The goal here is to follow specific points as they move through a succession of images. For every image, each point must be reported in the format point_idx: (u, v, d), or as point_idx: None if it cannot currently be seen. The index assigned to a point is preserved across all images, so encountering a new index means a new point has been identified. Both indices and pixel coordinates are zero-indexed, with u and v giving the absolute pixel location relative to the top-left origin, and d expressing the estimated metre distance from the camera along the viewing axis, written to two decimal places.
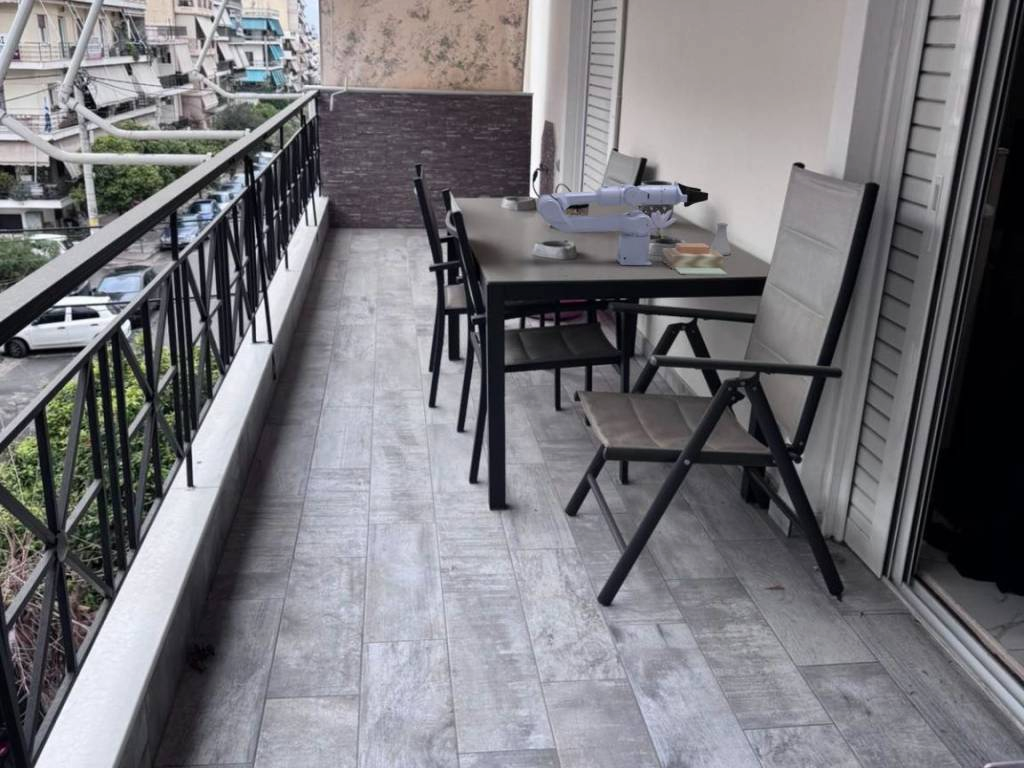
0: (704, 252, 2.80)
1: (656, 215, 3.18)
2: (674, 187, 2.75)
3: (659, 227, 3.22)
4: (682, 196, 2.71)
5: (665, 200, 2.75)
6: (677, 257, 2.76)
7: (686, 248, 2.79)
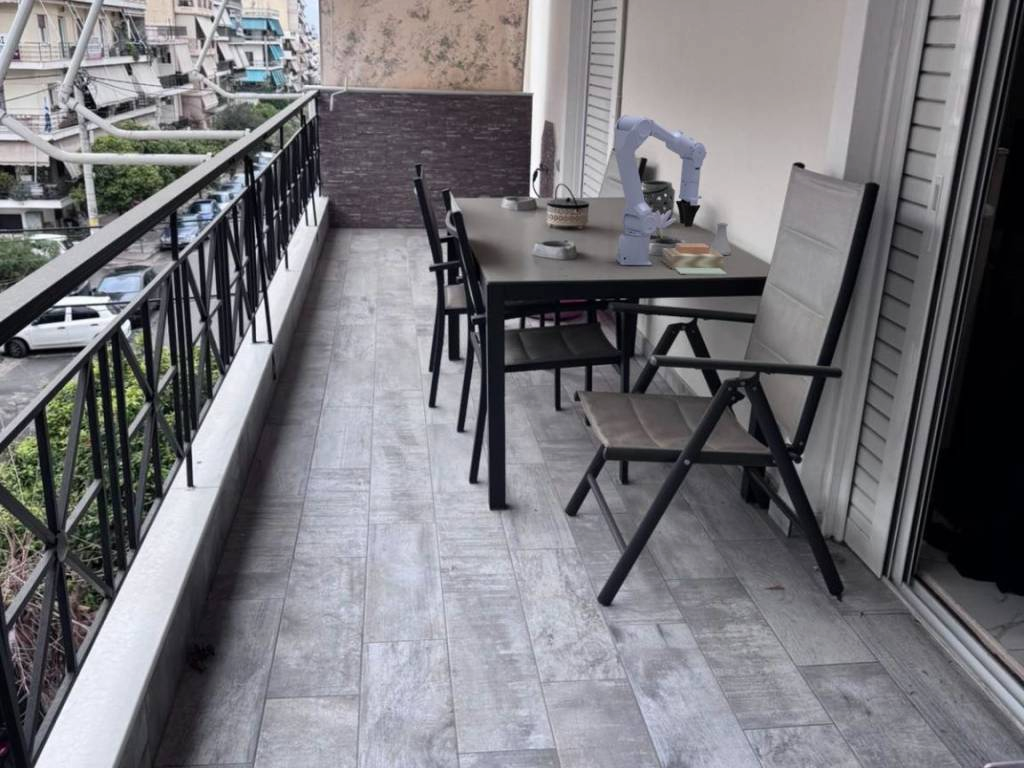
0: (704, 252, 2.80)
1: (656, 215, 3.18)
2: (697, 194, 2.85)
3: (659, 227, 3.22)
4: (696, 200, 2.80)
5: (687, 186, 2.83)
6: (677, 257, 2.76)
7: (686, 248, 2.79)
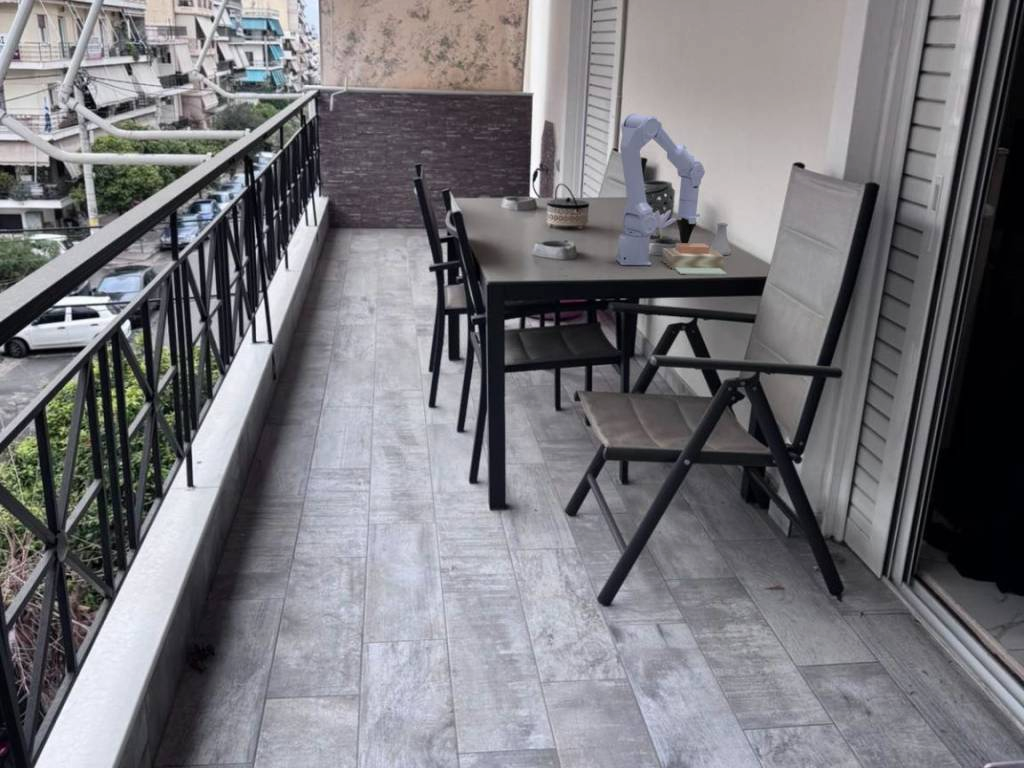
0: (704, 252, 2.80)
1: (655, 215, 3.18)
2: None
3: (658, 227, 3.22)
4: (695, 219, 2.82)
5: (686, 204, 2.85)
6: (677, 257, 2.76)
7: (686, 248, 2.79)
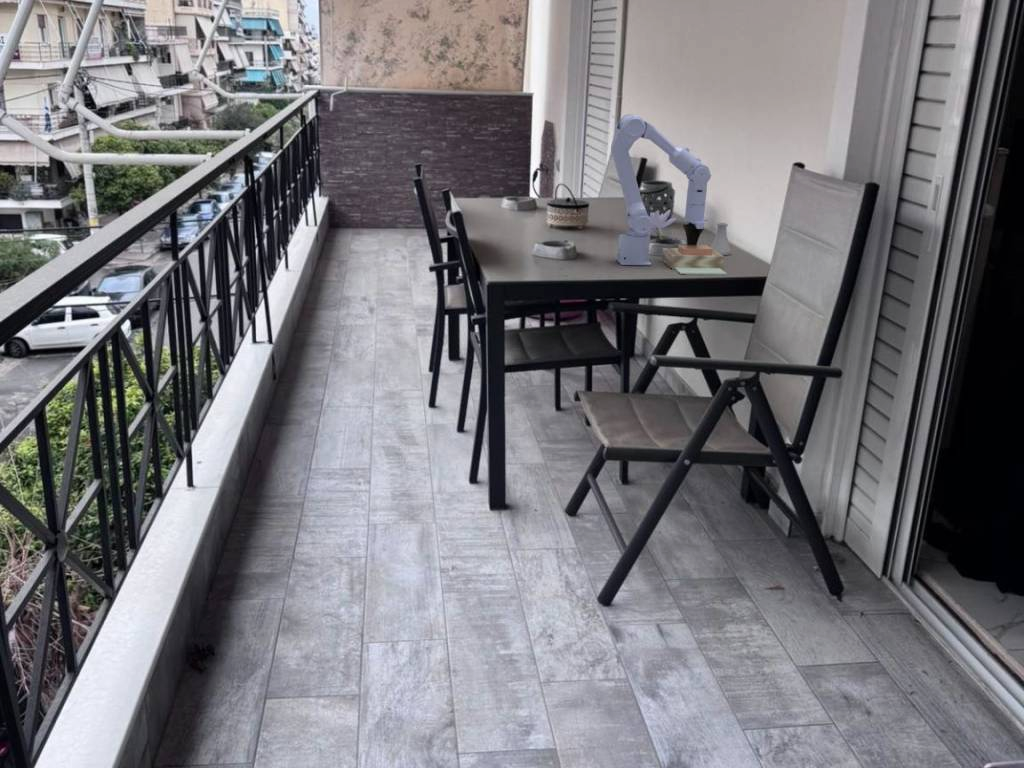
0: (707, 254, 2.77)
1: (655, 215, 3.18)
2: (703, 217, 2.79)
3: (658, 227, 3.22)
4: (702, 224, 2.74)
5: (693, 208, 2.77)
6: (677, 257, 2.76)
7: (689, 250, 2.77)
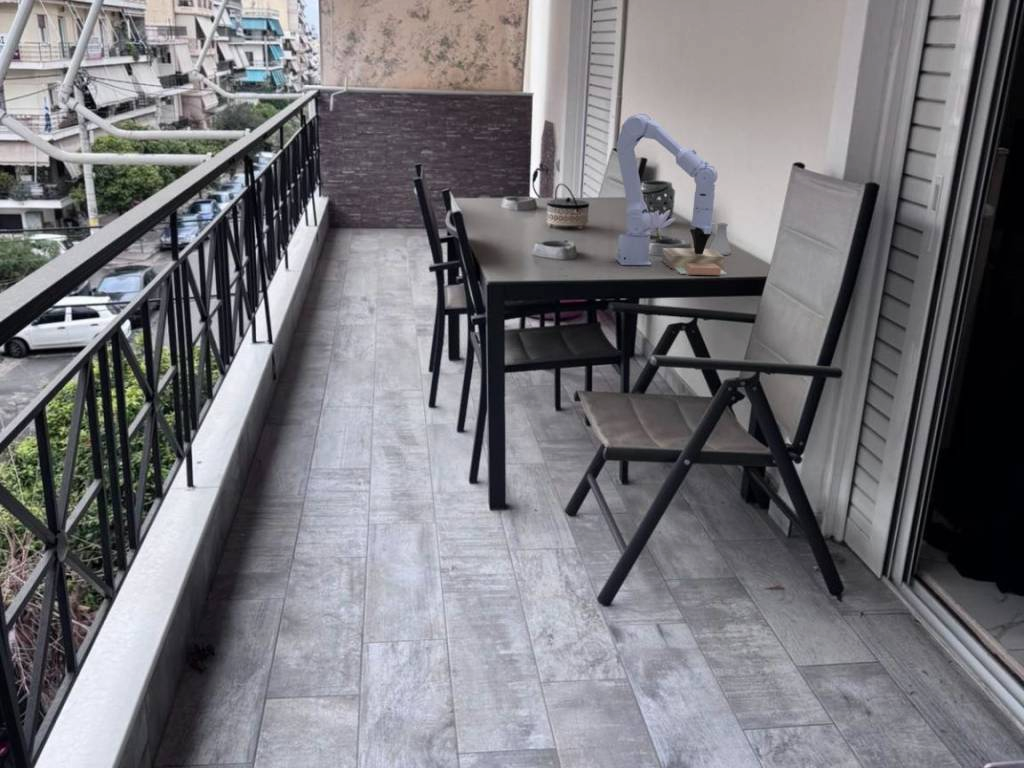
0: None
1: (654, 215, 3.18)
2: (711, 222, 2.71)
3: (658, 227, 3.22)
4: (710, 229, 2.66)
5: (700, 213, 2.69)
6: (677, 257, 2.76)
7: None
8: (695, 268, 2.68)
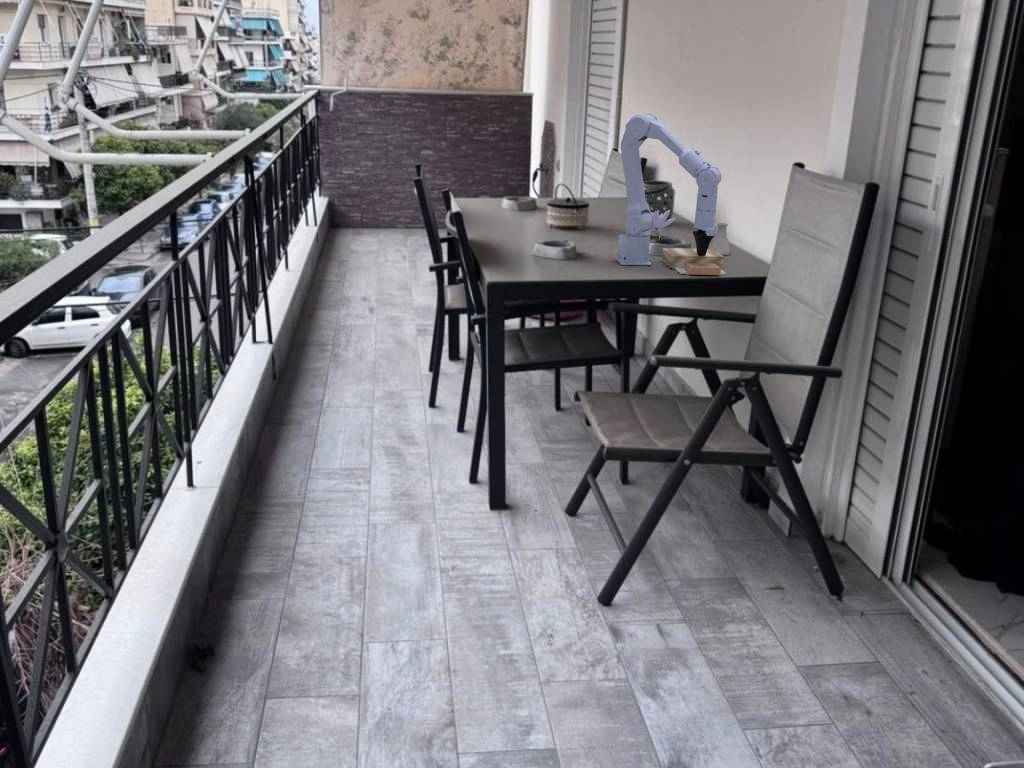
0: None
1: (654, 215, 3.18)
2: (713, 224, 2.69)
3: (657, 227, 3.21)
4: (713, 230, 2.63)
5: (703, 214, 2.66)
6: (677, 257, 2.76)
7: None
8: (695, 268, 2.68)
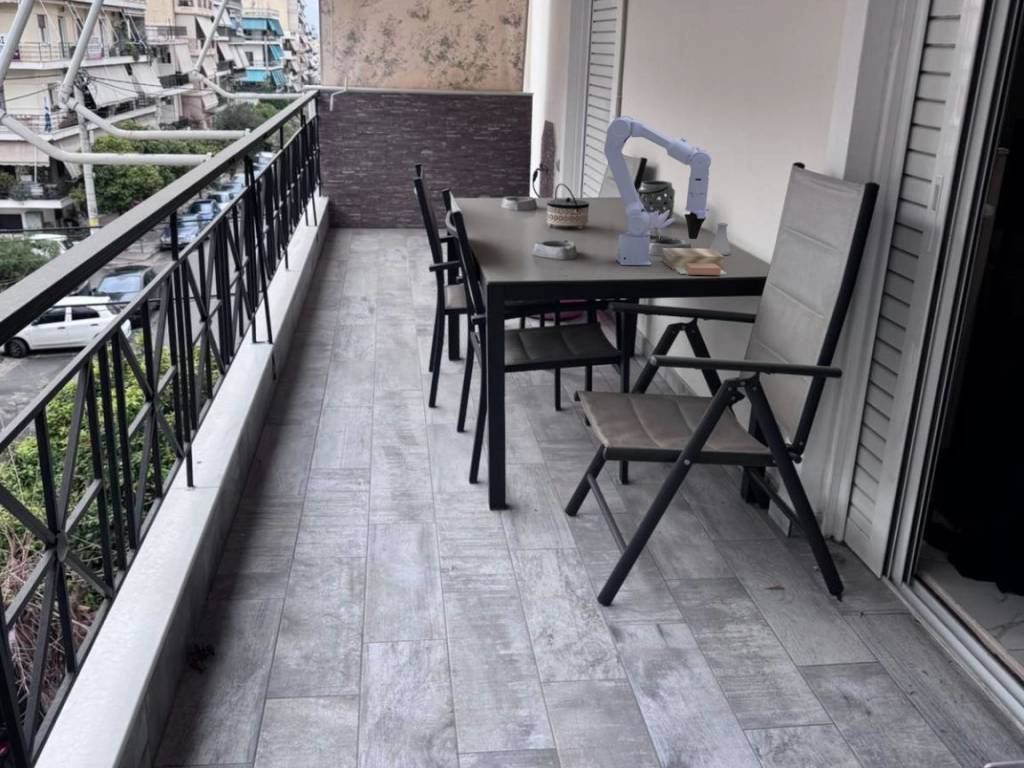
0: None
1: (653, 215, 3.18)
2: (705, 207, 2.72)
3: (657, 227, 3.21)
4: (704, 213, 2.67)
5: (695, 197, 2.70)
6: (677, 257, 2.76)
7: None
8: (695, 268, 2.68)
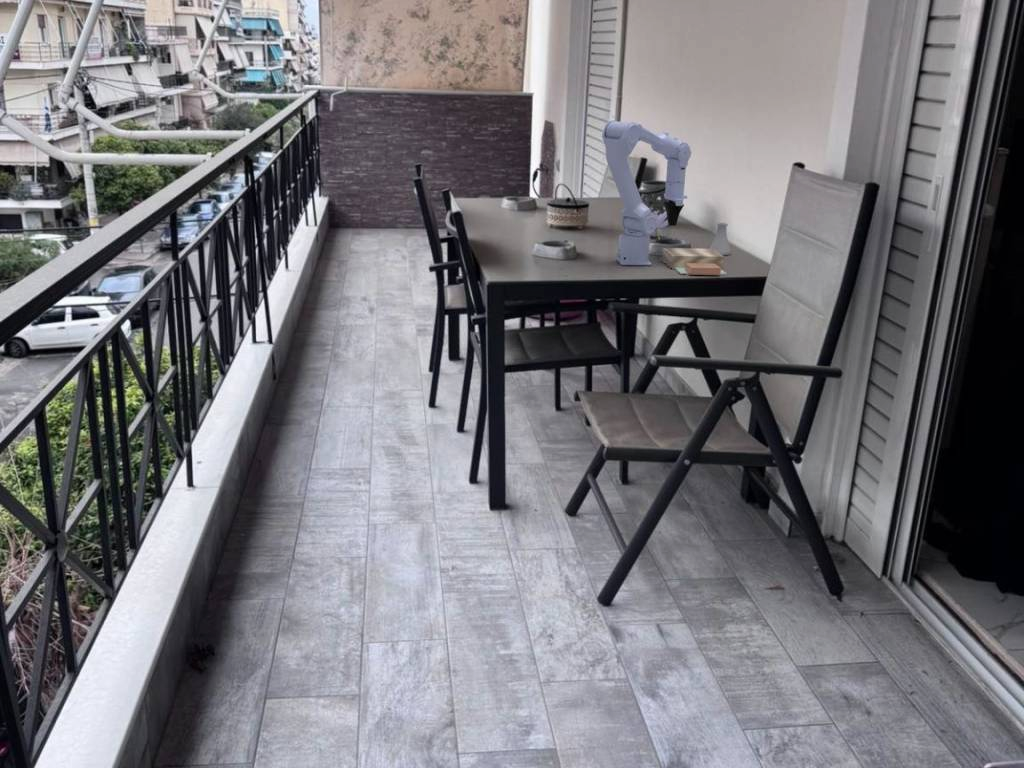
0: None
1: None
2: (683, 194, 2.84)
3: (656, 227, 3.21)
4: (682, 201, 2.79)
5: (673, 186, 2.82)
6: (677, 257, 2.76)
7: None
8: (695, 268, 2.68)
